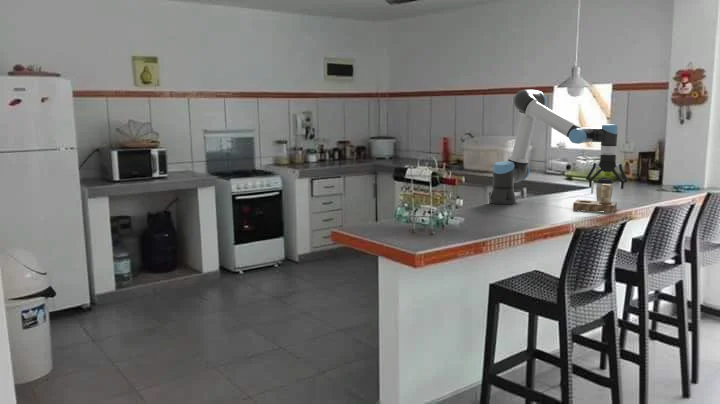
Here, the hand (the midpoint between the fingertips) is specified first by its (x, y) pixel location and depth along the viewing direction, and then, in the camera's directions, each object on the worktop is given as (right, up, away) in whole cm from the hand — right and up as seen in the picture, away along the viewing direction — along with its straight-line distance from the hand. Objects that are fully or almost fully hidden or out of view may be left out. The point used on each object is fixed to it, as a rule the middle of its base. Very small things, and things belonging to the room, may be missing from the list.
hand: (605, 194), depth 307 cm
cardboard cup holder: (-4, -8, +4) cm, 10 cm away
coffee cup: (+7, -6, +19) cm, 21 cm away
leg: (0, -9, +1) cm, 9 cm away
